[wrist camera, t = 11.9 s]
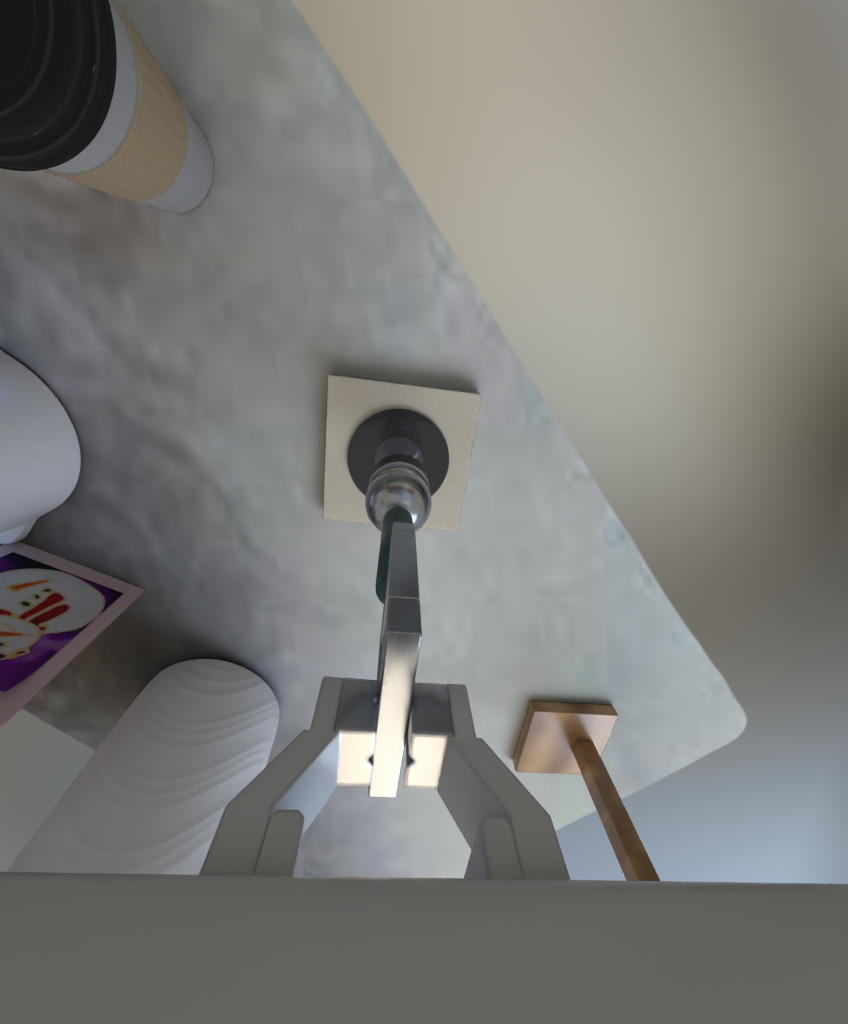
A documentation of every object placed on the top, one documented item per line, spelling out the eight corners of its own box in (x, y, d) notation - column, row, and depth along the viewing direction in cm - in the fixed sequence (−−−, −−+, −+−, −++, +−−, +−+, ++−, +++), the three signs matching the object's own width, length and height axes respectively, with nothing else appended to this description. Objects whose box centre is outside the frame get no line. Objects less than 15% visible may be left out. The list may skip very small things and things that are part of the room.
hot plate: (325, 512, 36) (322, 520, 35) (331, 373, 32) (327, 375, 30) (456, 525, 38) (458, 533, 36) (478, 392, 33) (482, 394, 32)
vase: (307, 690, 44) (123, 1357, 15) (245, 766, 48) (3, 1411, 19) (182, 630, 40) (-388, 1364, 11) (125, 717, 44) (-405, 1429, 15)
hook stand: (473, 758, 50) (535, 1116, 27) (488, 698, 46) (575, 1052, 23) (588, 763, 51) (743, 1106, 28) (612, 704, 47) (812, 1044, 24)
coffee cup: (90, 36, 24) (-329, -381, 10) (252, 100, 26) (75, -191, 12) (91, 217, 27) (-225, 87, 14) (234, 264, 29) (79, 190, 15)
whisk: (369, 506, 31) (308, 795, 11) (375, 433, 29) (313, 627, 9) (421, 511, 31) (454, 800, 11) (431, 439, 29) (491, 639, 9)
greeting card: (148, 582, 38) (4, 716, 24) (127, 639, 41) (-15, 791, 27) (15, 531, 36) (-230, 649, 22) (1, 595, 38) (-230, 738, 24)
